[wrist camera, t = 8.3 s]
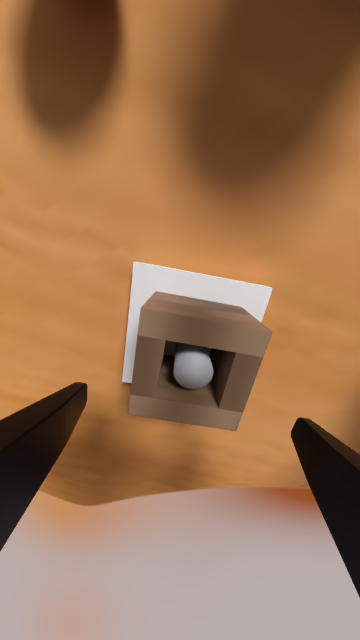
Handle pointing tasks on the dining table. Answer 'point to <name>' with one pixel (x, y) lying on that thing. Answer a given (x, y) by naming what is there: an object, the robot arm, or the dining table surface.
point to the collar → (226, 355)
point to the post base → (148, 278)
